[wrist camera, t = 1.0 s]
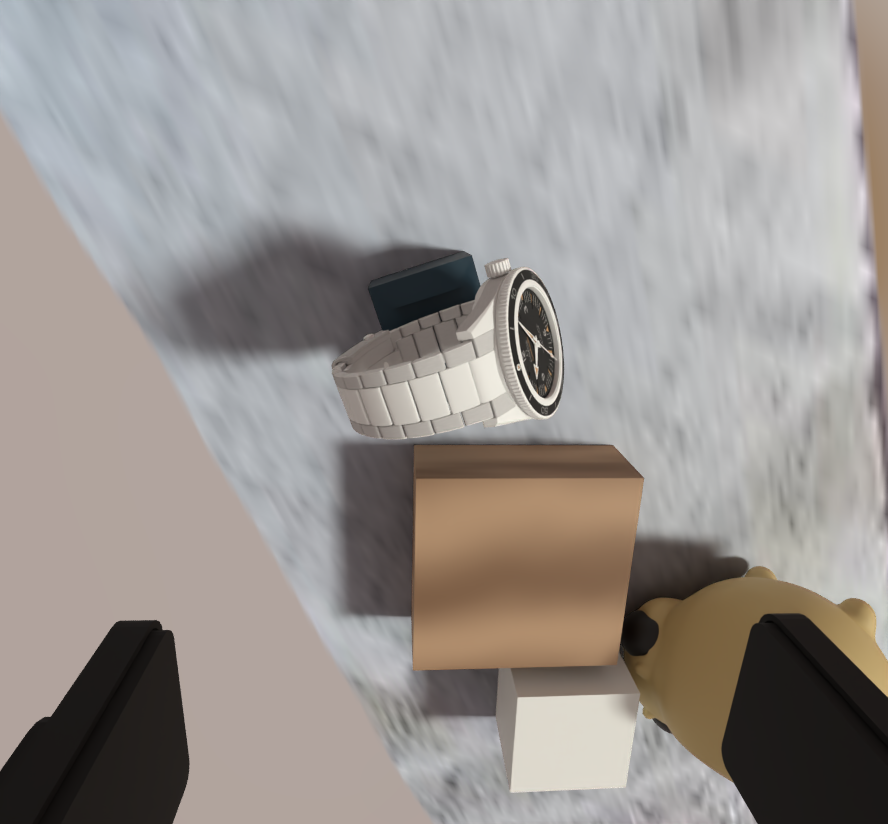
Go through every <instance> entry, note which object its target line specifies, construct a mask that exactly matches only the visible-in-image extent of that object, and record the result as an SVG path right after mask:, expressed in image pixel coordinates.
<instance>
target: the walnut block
mask: <svg viewBox="0 0 888 824" xmlns="http://www.w3.org/2000/svg"><path fill="white" fill-rule="evenodd" d="M643 482H644V478H643V477H642V476H641V474H640V473H639V472H638V471H637V470H636V469H635V468H634V467H633V466H632V465H631V464H630V463H629V462H628V461H627V460H626V458H625V457H624V456H623V455H622V454H621V453H620V452H619V451H618V450H617V449H616V448H615V447H614V446H613V445H414V480H413V545H412V611H411V621H412V655H413V670H451V669H489V668H526V667H564V666H602V665H617V661H618V654H619V647H620V641H621V634H622V627H623V620H624V613H625V606H626V599H627V592H628V585H629V579H630V572H631V565H632V558H633V551H634V544H635V537H636V530H637V523H638V517H639V510H640V503H641V496H642V489H643Z"/></svg>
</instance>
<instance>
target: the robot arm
mask: <svg viewBox="0 0 888 824" xmlns="http://www.w3.org/2000/svg"><path fill="white" fill-rule="evenodd" d="M721 752H722V758H723V762H724V765H725V768H726V770H727V772H728V774H729V775H730V777H731V779H732V780H733V782H734V784H735V786H736V787H737V789H738V791H739V792H740V794H741V796H742V798H743V799H744V801H745V803H746V804H747V806H748V808H749V810H750V811H751V813H752V815H753V816H754V818H755V820H756V822H757V823H758V824H888V697H887V696H886V695H885V694H884V693H883V692H882V691H881V690H880V689H879V688H878V687H877V686H876V685H875V684H874V683H873V682H872V681H871V680H870V679H869V678H868V677H867V676H866V675H865V674H864V673H863V672H862V671H861V670H860V669H859V668H858V667H857V666H856V665H855V664H854V663H853V662H852V661H851V660H850V659H849V658H848V657H847V656H846V655H845V654H844V653H843V652H842V651H841V650H840V649H839V648H838V647H837V646H836V645H835V644H834V643H833V642H832V641H831V640H830V639H829V638H828V637H827V636H826V635H825V634H824V633H823V632H822V631H821V630H820V629H819V628H818V627H817V626H816V625H815V624H814V623H813V622H812V621H811V620H810V619H809V618H808V617H806V616H805V615H803V614H800V613H770V614H764V615H763V616H762V617H761V618H760V621H759V623H755V624H754V625H753V626H752V628H751V630H750V634H749V638H748V642H747V646H746V650H745V654H744V658H743V662H742V666H741V669H740V673H739V677H738V681H737V685H736V689H735V693H734V697H733V701H732V705H731V709H730V713H729V717H728V721H727V725H726V729H725V733H724V737H723V741H722V746H721ZM188 774H189V754H188V746H187V738H186V730H185V723H184V714H183V707H182V698H181V691H180V682H179V674H178V666H177V659H176V651H175V643H174V636H173V633H172V631H170V630H162V625H161V624H160V622H159V621H157V620H149V621H148V620H145V621H144V620H143V621H118V622H116V623H115V624H114V626H113V627H112V628H111V629H110V631H109V632H108V634H107V635H106V637H105V638H104V640H103V641H102V643H101V644H100V646H99V647H98V649H97V650H96V651H95V653H94V655H93V656H92V657H91V659H90V660H89V662H88V663H87V665H86V666H85V668H84V669H83V670H82V672H81V673H80V675H79V676H78V678H77V679H76V681H75V682H74V684H73V685H72V687H71V688H70V690H69V691H68V692H67V694H66V695H65V697H64V698H63V700H62V701H61V703H60V704H59V706H58V707H57V709H56V710H55V712H54V713H53V714H52V716H51V717H44V718H42V719H41V720H39V721H38V722H36V723H35V724H34V726H33V727H32V728H31V729H30V730H29V731H28V733H27V734H26V735H25V737H24V738H23V740H22V741H21V743H20V744H19V745H18V747H17V748H16V749H15V751H14V752H13V754H12V755H11V757H10V758H9V759H8V761H7V762H6V764H5V765H4V766H3V768H2V770H1V771H0V824H172V823H173V821H174V818H175V815H176V813H177V810H178V807H179V804H180V801H181V799H182V796H183V793H184V791H185V788H186V784H187V780H188Z"/></svg>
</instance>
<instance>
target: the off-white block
mask: <svg viewBox="0 0 888 824" xmlns="http://www.w3.org/2000/svg"><path fill="white" fill-rule="evenodd" d="M639 698H640V692H639V690H638V688H637V686H636V684H635V682H634V680H633V678H632V676H631V674H630V672H629V670H628V668H627V666H626V664H625V662H624V660H623V658H622V656H621V654H620V652H619V654H618V661H617V665H602V666H564V667H526V668H499V672H498V688H497V703H496V721H497V726H498V732H499V737H500V742H501V747H502V752H503V758H504V763H505V768H506V773H507V779H508V784H509V789H510V793H513V792H535V791H558V790H580V789H602V788H625V787H626V781H627V774H628V768H629V762H630V755H631V749H632V743H633V736H634V730H635V724H636V717H637V711H638V705H639Z"/></svg>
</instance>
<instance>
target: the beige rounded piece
mask: <svg viewBox="0 0 888 824" xmlns="http://www.w3.org/2000/svg"><path fill="white" fill-rule="evenodd" d="M770 613H800V614H803V615H805V616H806V617H808V618H809V619H810V620H811V621H812V622H813V623H814V624H815V625H816V626H817V627H818V628H819V629H820V630H821V631H822V632H823V633H824V634H825V635H826V636H827V637H828V638H829V639H830V640H831V641H832V642H833V643H834V644H835V645H836V646H837V647H838V648H839V649H840V650H841V651H842V652H843V653H844V654H845V655H846V656H847V657H848V658H849V659H850V660H851V661H852V662H853V663H854V664H855V665H856V666H857V667H858V668H859V669H860V670H861V671H862V672H863V673H864V674H865V675H866V676H867V677H868V678H869V679H870V680H871V681H872V682H873V683H874V684H875V685H876V686H877V687H878V688H879V689H880V690H881V691H882V692H883V693H884V694H885V695H886V696H887V697H888V661H887V659H886V658H885V656H884V654H883V653H882V651H881V650H880V648H879V647H878V645H877V643H876V640H875V631H876V615H875V612H874V610H873V609H872V607H871V606H870V605H869V604H867V603H866V602H865V601H863V600H860V599H856V598H850V599H846V600H845V601H843V602H842V603H841V604H838V605H836V604H834V603H832V602H831V601H829V600H828V599H826V598H824V597H822V596H821V595H819V594H817V593H815V592H813V591H811V590H808V589H806V588H803V587H801V586H798V585H795V584H791V583H788V582H784V581H779V580H777V579H776V577H775V575H774V574H773V572H772V571H771V570H769V569H767V568H765V567H761V566H757V567H753V568H751V569H750V570H749V571H748V572H747V573H746V575H745V577H740V578H732V579H727V580H723V581H719V582H716V583H714V584H711V585H709V586H707V587H705V588H703V589H701V590H699V591H698V592H696V593H695V594H693V595H691V596H689V597H688V598H686V599H684V600H683V601H682V600H678V599H673V598H656V599H652V600H650V601H648V602H646V603H645V604H644V605H642V606H641V607H640V608H639V609H638V610H637V611H634V612H632V613H631V614H629V615H628V616H627V617H626V618H625V619H624V621H623V627H622V634H621V641H622V644H623V646H624V662H625V664H626V666H627V668H628V670H629V672H630V674H631V676H632V678H633V680H634V682H635V684H636V686H637V688H638V690H639V692H640V698H639V701H640V703H641V704H642V705H643V706H644V708H643V715H644V716H645V717H646V718H648V719H653V721H654V722H655V723H656V724H657V725H658V726H659V727H660V728H661V729H663V730H664V731H666V732H668V733H671V734H673V735H674V736H675V738H676V739H677V740H678V741H679V742H680V743H681V744H682V745H683V746H684V747H685V748H686V749H687V750H688V751H689V752H690V753H692V754H693V755H694V756H695V757H696V758H698V759H699V760H700V761H702V762H703V763H704V764H706V765H707V766H708V767H710V768H711V769H713V770H714V771H716V772H717V773H719V774H720V775H722V776H723V777H725V778H727V779H728V780H730V781H732V782H733V780H732V779H731V777H730V775H729V774H728V772H727V770H726V768H725V765H724V762H723V758H722V752H721V746H722V741H723V737H724V733H725V729H726V725H727V721H728V717H729V713H730V709H731V705H732V701H733V697H734V693H735V689H736V685H737V681H738V677H739V673H740V669H741V666H742V662H743V658H744V654H745V650H746V646H747V642H748V638H749V634H750V630H751V628H752V626H753V625H754V624H755V623H759V621H760V618H761V617H762V616H763V615H764V614H770ZM733 783H734V782H733Z"/></svg>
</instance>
